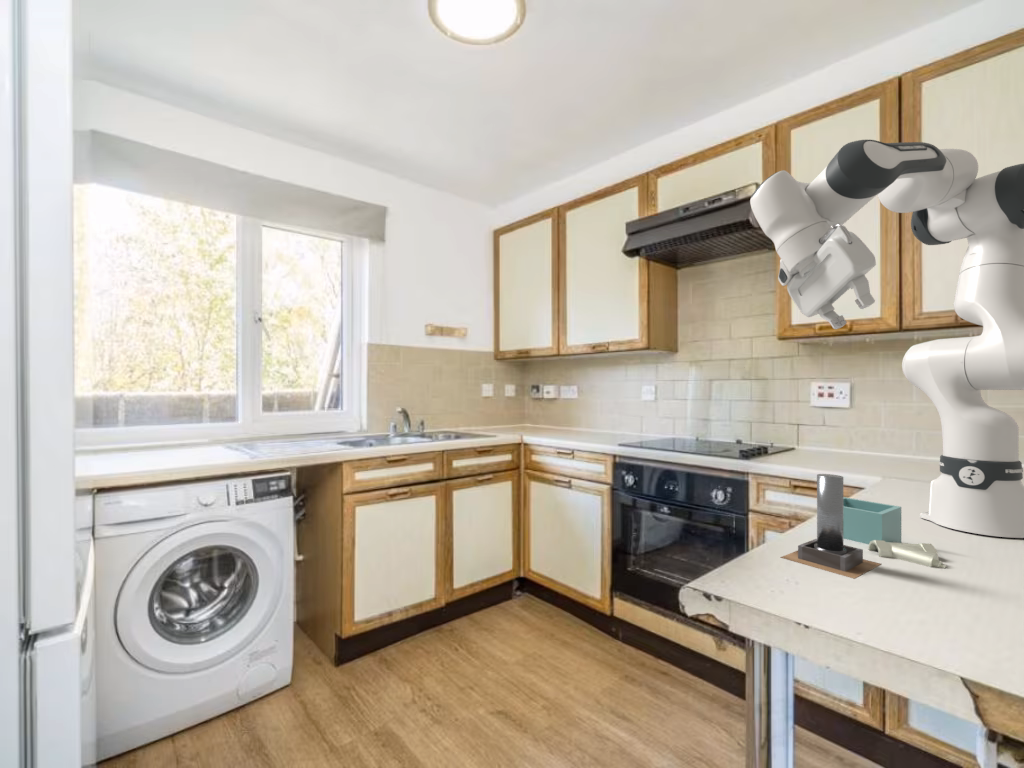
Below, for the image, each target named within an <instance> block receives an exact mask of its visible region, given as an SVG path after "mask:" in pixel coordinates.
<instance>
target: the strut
mask: <svg viewBox="0 0 1024 768" xmlns="http://www.w3.org/2000/svg"><path fill="white" fill-rule="evenodd" d="M843 497H844V476H842V475H838V474H833V473H832V474H831V473H830V474H829V473H818V474H816V539H817V543H816V544H814V549H818V550H822V551H826V552H830V553H834V554H837V555H841V556H843V555H845V554H847V550H846V549H845V548H844V545H845V544H844V540H845V539H843Z"/></svg>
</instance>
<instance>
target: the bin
mask: <svg viewBox="0 0 1024 768" xmlns="http://www.w3.org/2000/svg"><path fill="white" fill-rule="evenodd" d="M843 539H844V540H847V541H852V542H858V543H861V544H866V545H869V543H870V541H873V540H882V541H885V542H893V543H902V506H898V505H892V504H886V503H880V502H875V501H868V500H862V499H858V498H851V497H845V496H843Z"/></svg>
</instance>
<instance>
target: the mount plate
mask: <svg viewBox="0 0 1024 768" xmlns="http://www.w3.org/2000/svg"><path fill="white" fill-rule="evenodd" d="M816 543H817V538H814V539H812V540H808V541H807V542H806V541H805V542H803V543H801V544H799V545H797V550H795V551H793V552H790V553H787V554H785V555H783V556H780V558H781V559H784V560H787V561H791V562H795V563H797V564H802V565H805V566H809V567H812V568H814V569H818V570H823V571H826V572H829V573H832V574H836V575H840V576H842V577H843V576H844V577H847V578H851V579H857V578H859V577H861V576H862V575H865V574H866V573H868V572H870V571H872V570H873V569H875V568H877V567H879V566H880V565H881V566H882V563H880V562H876V561H871V560H869V559H864V552H863V550H864V549H863V548H859V547H854V546H851V545H847V544H844V548H845V549H846V550H847V554H845V555H843V556H841V555H837V554H834V553H830V552H826V551H822V550H818V549H814V544H816Z"/></svg>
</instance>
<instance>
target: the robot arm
mask: <svg viewBox="0 0 1024 768" xmlns="http://www.w3.org/2000/svg"><path fill="white" fill-rule="evenodd" d="M978 173H979V163H978V159H977V158H976V157H975V155H974V154H973V153H972V152H970V151H968V150H964V149H960V148H959V149H958V148H938V147H937V146H935V145H934V144H931V143H928V142H923V141H921V142H920V141H916V142H915V141H912V142H911V141H910V142H909V141H908V142H884V141H883V142H882V141H879V140H875V139H859V140H854V141H850V142H847V143H846V144H844V145H842V147H841V148H840V149H839V150H838V151H837V152H836V154H835V155H834V156H833V157H832V158H831V160H830V161H829V163H828V164H827V165H826V166H825V167H824V169H822V170H821V172H820V173H818V175H817V176H816V177H815V178H814V179H813V180H812V181H811V182H801V181H798V180H796V178H794V176H792V175H791V174H790V173H789V172H788V171H787V170H785V169H784V170H779V171H777V172H774V173H773V174H771V175H770V176H768V177H767V178H765V180H763V181H762V182H761V183H760V185H758V187H756V189H755V190H754V192H753V193H752V194H751V196H750V200H749V203H750V207H751V211H752V213H753V216H754V217H755V219H756V221H757V223H758V225H759V227H760V229H761V230H762V231H763V233H764V234H765V236H766V237H768V238H769V239H770V240H771V241H772V243H773V244H774V248H775V249H774V250H775V252H776V253H777V255H778V256H779V258H780V260H779V270H778V271H779V272H778V274H777V275H778V277H777V280H778V282H779V283H780V285H781V286H782V287H784V286H786V288H787V289H786V290H787V293H788V295H789V297H790V298H791V299H792V301H793V303H794V304H795V306H796V307H797V309H798V310H799V311H800V313H801V314H802V315H803V316H805V317H807V318H812V317H814V316H817V315H819V316H820V317H821V318H822V319H823V320H825V321H827V322H828V323H829V324H830V325H831V327H832V329H834V330H839V329H841V328H843V327H844V326H845V325H846V324H847V320H846V319H845V317H844V315H843V314H842V315H839V314H838V313H837V312H836V311H834V310H835V307H834V306H833V304H834V303H835V302H836V301H838V300H839V299H840V298H841V297H842V296H843V295H844V294H846V292H847V291H849V290H850V289H851V290H853V291H854V294H855V297H856V299H855V300H854V302H855V304H856V305H858V308H859V309H861V310H864V309H867V308H869V307H870V306H872V305H873V304H875V301H876V299H875V298H874V297H873V295H872V294H871V290H870V284H869V283H870V281H869V280H868V278H867V277H866V275H867V274H868V273H869V272H870V271H871V270H872V269H873V268H875V266H876V265H877V262H876V256H875V255H874V253H873V252H872V250H870V248H869V247H868V246H867V245H866V244H865V243H864V242H863V240H861V238H860V237H859V236H858V235H857V234H856V233H854V232H852V231H849V229H848V228H847V227H846V226H845V224H846V223H847V221H849V220H850V219H851V218H852V217H853V216H854V215H855V214H857V213H858V212H859V211H860V210H861V209H863V207H865V206H866V205H867V204H868V203H870V201H872V200H873V199H874V198H875V197H876V196H877V199H878V201H879V202H880V204H882V206H883V207H885V209H887V210H889V211H891V212H894V213H898V214H901V213H902V214H905V213H906V214H908V213H912V214H911V219H910V227H911V229H910V230H911V232H912V234H913V236H914V237H915V238H916V239H917V240H918V241H919V242H921V243H922V244H924V245H927V246H940V245H945V244H949V243H951V242H953V241H958V240H959V241H960V240H964V239H966V240H967V244H968V246H967V249H966V251H965V253H964V257H962V258H963V259H962V262H961V265H960V269H959V273H958V279H957V284H956V288H955V289H956V290H955V295H954V300H953V304H952V305H953V310H954V311H955V313H956V314H957V316H958V317H959V318H961V319H963V320H964V321H966V322H968V323H971V324H974V325H978V326H980V327H981V326H982V333H981V334H979V335H976V336H961V337H952V338H951V337H949V338H939V339H934V340H927V341H924V342H921V343H917V344H913V345H912V346H910V347H909V349H907V351H906V352H905V354H904V356H903V358H902V361H901V362H902V363H901V368H902V369H901V370H902V374H903V375H904V377H905V378H906V380H907V381H908V382H909V383H910V384H911V385H913V386H914V387H916V388H918V389H919V390H920V391H922V392H923V394H925V395H926V396H927V397H928V398H929V400H930V401H931V403H932V404H933V406H934V407H935V408H936V411H937V413H938V416H939V419H940V425H941V437H942V454H941V455H940V457H939V461H938V466H939V472H940V475H939V476H938V477H937V478H936V477H935V478H934V479H933V480H931V481H930V489H929V506H928V510H927V511H922V512H920V513H919V518H921V519H923V520H928V521H930V522H932V523H934V524H937V525H939V526H942V527H944V528H948V529H953V530H956V531H961V532H967V533H972V534H976V535H977V534H978V535H984V536H990V537H998V538H999V537H1000V538H1001V537H1002V538H1012V539H1014V538H1015V539H1024V485H1023V483H1022V481H1021V480H1023V479H1024V477H1023V475H1024V474H1023V473H1024V468H1023V465H1022V464H1023V463H1022V461H1020V458H1019V457H1020V456H1019V455H1020V454H1019V452H1020V450H1019V449H1020V446H1019V443H1020V441H1019V437H1020V436H1019V430H1020V429H1019V428H1020V427H1019V425H1018V423H1017V421H1016V420H1015V419H1014V418H1013V417H1012V416H1011V415H1009V414H1008V413H1006V412H1005V411H1002V410H1000V409H998V408H995V407H993V406H989V405H988V404H987V403H986V401H985V400H984V399H983V397H982V394H981V390H982V391H987V390H989V391H992V390H993V391H995V390H997V391H1003V390H1004V391H1024V163H1019V164H1014V165H1011V166H1007V167H1005V168H1003V169H1001V170H999V171H996V172H992V173H988V174H986V175H983V176H981V177H977V176H978Z"/></svg>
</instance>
